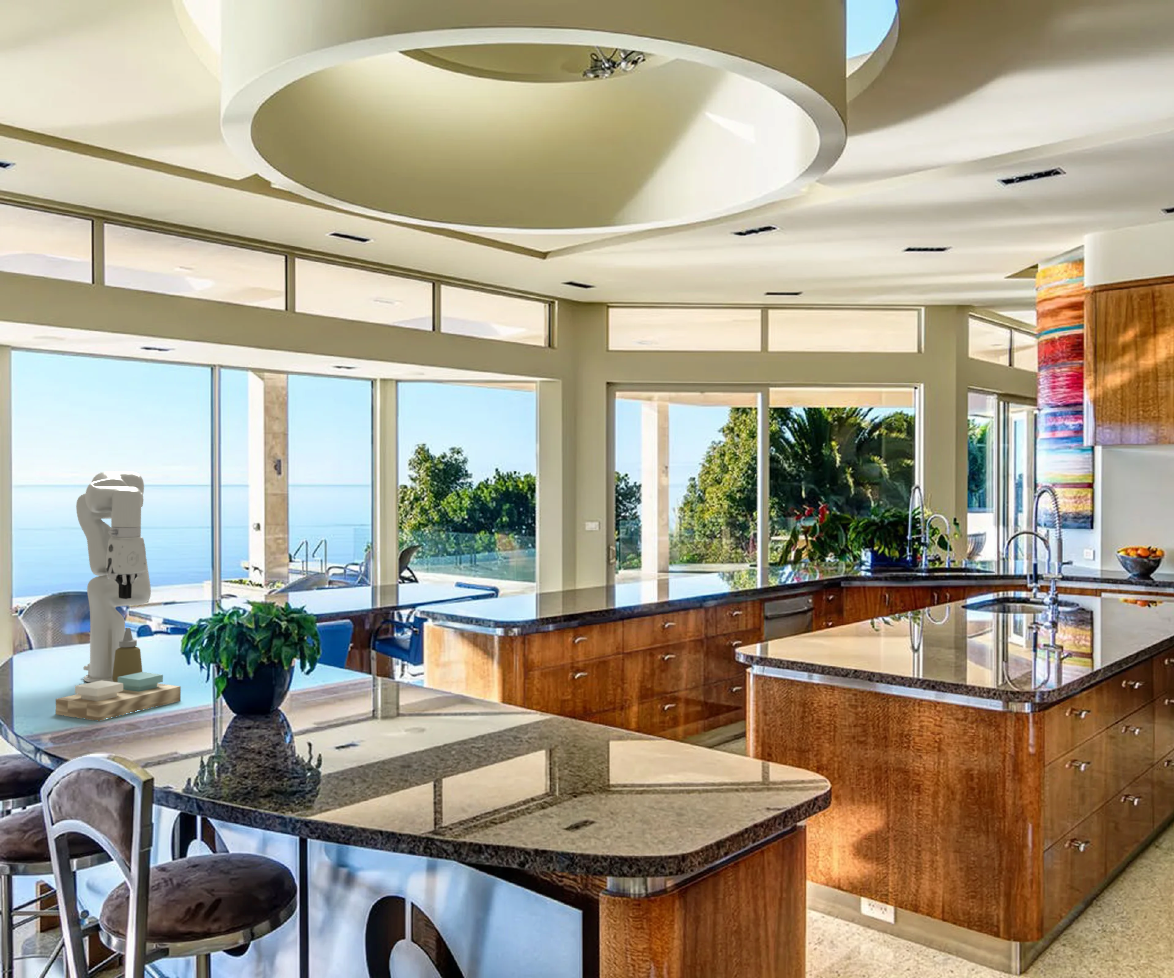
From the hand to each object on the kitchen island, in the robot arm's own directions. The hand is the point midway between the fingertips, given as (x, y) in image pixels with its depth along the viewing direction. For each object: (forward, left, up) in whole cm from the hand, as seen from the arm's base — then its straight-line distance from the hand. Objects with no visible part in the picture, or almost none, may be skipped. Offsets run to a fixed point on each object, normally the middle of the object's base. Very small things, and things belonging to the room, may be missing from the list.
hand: (124, 597), depth 276 cm
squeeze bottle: (-6, +6, -28) cm, 29 cm away
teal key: (+10, -3, -25) cm, 27 cm away
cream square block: (+10, -16, -25) cm, 32 cm away
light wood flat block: (+10, -10, -28) cm, 31 cm away
